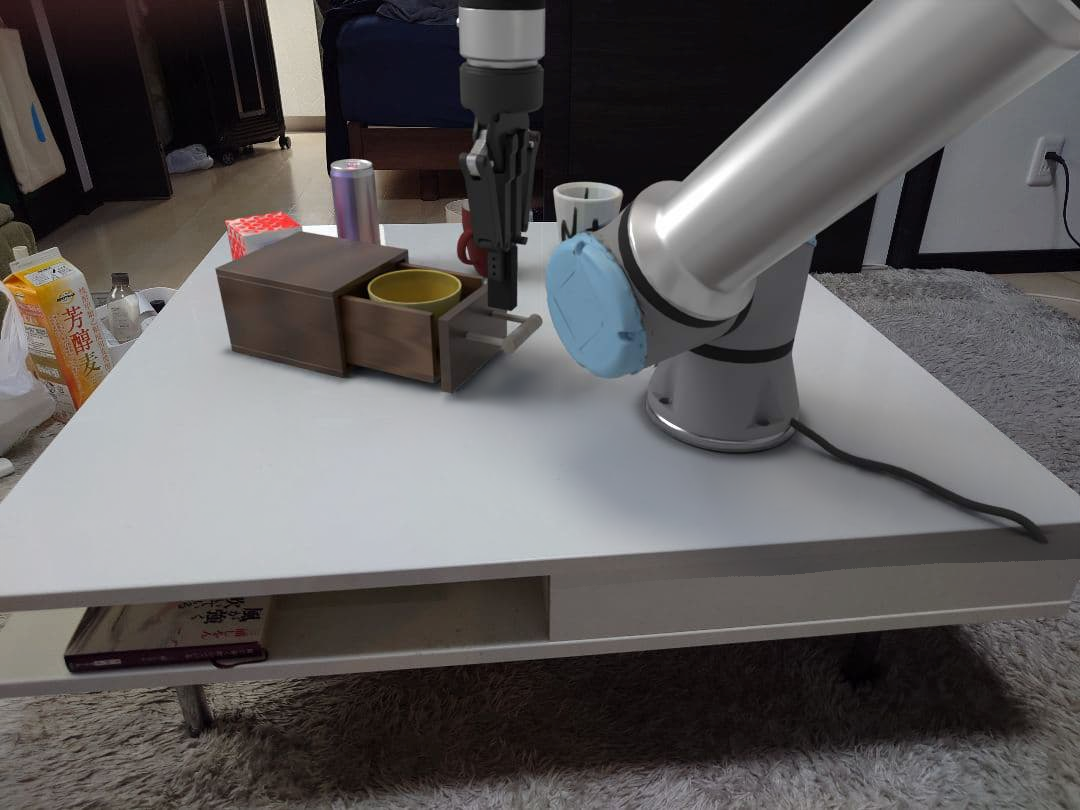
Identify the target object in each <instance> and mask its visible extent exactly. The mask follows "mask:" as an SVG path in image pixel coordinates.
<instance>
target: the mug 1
mask: <svg viewBox="0 0 1080 810" xmlns="http://www.w3.org/2000/svg"><path fill="white" fill-rule="evenodd" d="M461 225H462V231H463V232H462V233H460V235H459V237H458V240H457V244H456V255H457V259H458V260H459V261H460V263H462V264H464V265H467V266H472V267H473V269H474V270H475V271H476V273H477V274H478V276H483V277H484V279H487V249H484V248H479V247H476V246H475V243H474V236H473V230H472V223H471V216H470V210H469V203H468V200H466V201H464V202H463V203H462V204H461ZM467 254H468V255H467ZM468 258H469V259H468Z"/></svg>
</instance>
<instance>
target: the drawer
mask: <svg viewBox="0 0 1080 810" xmlns="http://www.w3.org/2000/svg"><path fill="white" fill-rule="evenodd" d="M414 269H416V270H433V271H439V272H444V273H447V274H450V275H452V276H454V277H456V278H457V279H459V281H460V282H461V295H460V300H459V304H457V305H456V306H455V307H453V308H452V309H451V310H449V311H448V312H447V313H445V314H444V315H442V316H441V317H440V318H438V328H439V346H440V347H439V348H437V349H436V343H435V326H434V313H432V312H427V311H422V310H417V309H412V308H407V307H402V306H397V305H392V304H387V303H382V302H377V301H372V300H370V296H369V292H368V285H369V283H370V282H371V281H372V280H373V279H375V278H377V277H379V276H381V275H384V274H387V273H391V272H395V271H401V270H414ZM338 302H339V310H340V318H341V326H342V334H343V342H344V350H345V358H346V363H350V364H354V365H359V367H363V368H368V369H372V370H376V371H381V372H385V373H389V374H393V375H397V376H401V377H405V378H409V379H414V380H418V381H423V382H427V383H431V384H435V383H436V382H438V381H439V380H441V381H440V383H441V392H443V393H447V394H451V395H452V394H453V393H455V391H457V390H458V389H459V388H460V387H461V386H462V385H463V384H465V382H466V381H468V380H469V379H470V378H471V377H472V376H473V375H474V374H475V373H476V372H477V371H478V370H480V368H482V367H483V366H484V365H485V364H486V363H487V362H488V361H489V360H491V358H493V357H494V356H495V355H496V354H497V353H498V352H499V351H500V350H501V349H502V350H503V351H504V352H505V353H507V354H513V353H514V352H515V351H517V349H519V348H520V347H521V346H522V345H523V344H524V343H525V342H526V341H527V340H528V339H529V338H530V337H531V336H533V334H535V332H537V330H539V329H540V328H541V327H542V326H543V323H544V322H543V317H541V315H539V314H538V313H532V314H530V315H529V317H528V316H523V315H522V316H521V315H517V314H512V313H508V310H503V309H497V308H492V307H488V282H487V281H486V283H485V277H483V276H480V275H479V274H478V275H477V274H471V273H466V272H461V271H456V270H455V271H454V270H449V269H444V268H438V267H433V266H426V265H421V264H416V263H410V262H409V263H405V262H400V261H399V262H397V263H395V264H393V265H392V266H390V267H388V268H387V269H385V270H383V271H381V272H380V273H378V274H376V275H374V276H373V277H371V278H369V279H367V280H366V281H364V282H362V283H360V284H359V285H357V286H355V287H353V288H352V289H350V290H348V291H346V292H345V293H343V294H341V295H340V296H338ZM508 322H513V323H519V325H518V326H517V327H516V328H515V329H513V331H512V332H511V333H509V334H508Z"/></svg>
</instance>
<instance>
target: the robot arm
mask: <svg viewBox="0 0 1080 810" xmlns="http://www.w3.org/2000/svg"><path fill="white" fill-rule="evenodd" d="M457 2H458V18H457V19H456V27H457V28H458V35H459V36H458V37H459V54H460V56H462V58H464V59H466V61H465V62H463V63H462V64H461V66H459V89H460V91H459V92H460V94H459V95H460V103H461V106H462V107H463V108H464V109H466V110H467V111H471V112H472V113H473V114H474V122H473V129H472V142H473V146H472V148H471V150H470V152H460V154H459V156H458V164H459V167H460V170H461V172H462V174H463V177H464V182H465V189H466V196H467V201H468V203H469V210H470V216H471V223H472V230H473V236H474V243H475V246H476V247H479V248H484V249H487V278H486V279H487V281H486V283H487V282H488V307H492V308H497V309H503V310H507V312H513V310H514V309H516V308H517V307H518V274H519V273H518V271H519V269H518V266H519V265H518V259H519V257H518V256H519V255H518V254H519V251H518V250H519V247H518V245H523V246H526V245H527V243H528V241H529V240H528V239H529V237H528V236H522V233H527V232H528V230H529V223H530V215H531V214H530V213H531V204H532V197H533V196H532V195H533V186H534V177H535V168H536V161H537V160H536V158H537V154H538V150H539V147H540V141H541V133H540V131H536V130H535V131H534V130H530V129H529V128H530V118H529V113H533V112H536V111H538V110H539V109H541V107H542V106H543V104H544V78H545V77H544V76H545V74H544V73H545V72H544V71H545V69H544V68H543V67H542V65H541V64H540V63H539V60H541V59H542V58H544V56H545V55H546V0H458V1H457ZM1078 54H1080V0H871V2H870V3H869V4H867V6H866V7H865V8H863V10H861V11H860V12H859V13H858V14H857V15H856V16H855V17H854V18H853V19H852V20H851V21H850V22H849V23H848V24H846V25H845V26H844V28H842V30H840V31H839V32H838V33H837V34H836V35H835V36H834V37H832V39H831V40H830V41H829V42H828V43H826V45H825V46H824V47H823V48H821V49H820V50H819V52H817V53H816V54H815V55H814V56H813V57H812V58H811V59H810V60H809V61H808V62H807V63H805V65H804V66H802V67H801V68H800V69H799V70H798V71H797V72H796V73H794V75H793V76H792V77H790V79H789V80H787V81H786V82H785V83H784V84H783V85H782V87H780V88H779V89H778V90H777V91H776V92H775V93H774V94H773V95H771V97H770V98H769V99H767V101H765V103H763V104H762V105H761V106H760V107H759V108H758V109H757V110H756V111H755V112H754V113H753V114H752V115H751V116H750V117H749V118H747V119H746V121H744V122H743V123H742V124H741V125H740V126H739V127H738V128H737V129H736V130H735V131H734V132H733V133H732V134H730V136H728V137H727V138H726V139H725V140H724V141H723V142H722V144H720V145H719V146H718V147H717V148H716V149H715V150H714V151H713V152H712V153H711V154H710V155H708V156H707V157H706V158H705V159H704V160H703V161H702V162H701V163H700V164H699V165H698V166H696V168H695V169H694V170H693V171H692V172H690V173H689V175H688V176H686V177H685V178H684V179H683V180H682V181H679V180H678V181H677V180H662V181H658V182H655V183H652V184H651V185H648V187H646V188H645V189H643V190H642V191H641V192H640V193H639V194H638V195H637V196H636V197H635V198H633V199H632V201H630V203H628V204H627V205H626V207H625V208H624V209H623V210H621V211H620V212H619V215H618V216H617V217H616V218H615V219H614V220H613V221H612V222H610V223H609V224H608V225H606V226H605V227H603V228H602V229H600V230H598V231H595V232H592V233H585V232H582V233H581V234H579V233H577V234H576V235H575V236H573V238H570V239H568V240H565V241H563V242H562V243H561V244H560V243H559V244H558V245H557V246H556V247H555V249H554V250H553V252H552V253H551V255H550V257H549V260H548V263H547V266H546V272H545V291H546V302H547V307H548V312H549V316H550V319H551V322H552V325H553V328H554V330H555V332H556V334H557V336H558V338H559V340H560V342H561V343H562V345H563V347H564V348H565V350H566V351H567V353H568V354H569V355H570V356H571V358H572V359H573V360H574V361H575V362H576V363H577V364H578V365H579V366H580V367H581V368H583V369H586V370H587V371H588V373H590V374H592V375H594V376H595V377H597V378H601V379H609V380H610V379H617V378H621V377H625V376H628V375H631V376H634V375H637V374H639V373H640V372H642V371H643V370H644V369H647V368H649V367H653V369H654V371H653V374H652V376H651V378H650V380H649V383H648V386H647V390H646V397H645V410H646V414H647V416H648V417H649V420H651V421H652V423H653V424H654V425H655V426H656V427H657V428H658V429H660V430H661V431H662V432H664V433H665V434H667V435H669V436H670V437H672V438H674V439H676V440H679V441H680V442H683V443H685V444H689V445H691V446H695V447H698V448H702V449H707V450H712V451H717V452H726V453H746V452H747V453H749V452H758V451H763V450H767V449H771V448H774V447H777V446H778V445H780V444H783V443H784V442H786V441H787V440H789V439H790V438H791V437H792V436H793V434H794V433H795V432H796V431H797V432H799V433H800V434H802V435H804V436H805V437H806V438H808V439H809V440H811V441H812V442H814V443H815V444H817V445H818V446H819V447H820V448H821V449H823V450H824V451H825V452H827V453H829V454H830V455H832V456H833V457H835V458H837V459H839V460H841V461H843V462H846V463H849V464H852V465H855V466H858V467H862V468H866V469H871V470H875V471H879V472H884V473H887V474H890V475H894V476H897V477H900V478H902V479H905V480H907V481H909V482H912V483H914V484H916V485H918V486H920V487H921V488H924V489H926V490H928V491H929V492H931V493H933V494H935V495H937V496H939V497H942V498H943V499H945V500H947V501H949V502H951V503H953V504H955V505H958V506H960V507H962V508H965V509H967V510H971V511H973V512H978V513H982V514H986V515H991V516H996V517H1000V518H1003V519H1005V520H1006V519H1007V520H1010V521H1012V522H1014V523H1017V525H1019V526H1021V527H1022V528H1024V529H1025V530H1026V531H1028V533H1029V534H1030V535H1031V536H1032V537H1033V539H1034V540H1035V541H1036V542H1038V543H1039V544H1043V545H1048V544H1049V541H1048V539H1047V537H1046V535H1045V534H1044V533H1043V531H1042V530H1041V529H1040V527H1039V526H1038V525H1036V523H1035V522H1034V521H1033V520H1031V519H1030V518H1028V517H1027V516H1025V515H1023V514H1022V513H1019V512H1017V511H1015V510H1012V509H1008V508H1006V507H1001V506H996V505H993V504H987V503H983V502H980V501H976V500H973V499H969V498H967V497H965V496H962V495H960V494H957V493H956V492H953V491H951V490H949V489H947V488H945V487H943V486H941V485H940V484H937V483H936V482H933V481H932V480H929V479H928V478H926V477H923V476H921V475H920V474H918V473H915V472H914V471H913V472H912V471H910V470H908V469H905V468H903V467H899V466H896V465H893V464H890V463H886V462H882V461H877V460H872V459H868V458H865V457H860V456H857V455H854V454H851V453H849V452H846V451H844V450H842V449H840V448H838V447H837V446H835V445H834V444H832V443H830V442H829V441H828V440H827V439H825V438H824V437H823V436H822V435H820V434H819V433H817V432H816V431H815V430H813V429H811V428H810V427H808V426H807V425H805V424H803V423H802V422H800V421H799V417H800V399H799V393H798V385H797V378H796V371H795V367H794V366H795V365H794V360H793V349H794V345H795V344H794V343H795V340H796V339H795V338H796V334H797V330H798V326H799V320H800V315H801V311H802V306H803V301H804V296H805V292H806V287H807V283H808V278H809V273H810V269H811V264H812V259H813V255H814V251H815V250H814V249H815V248H816V247H817V242H818V241H817V239H816V237H817V236H816V235H818V234H820V233H821V232H823V231H824V230H825V229H827V228H828V227H829V226H831V225H832V224H834V223H835V222H837V221H838V220H840V219H841V218H843V217H844V216H846V215H847V214H848V213H850V212H851V211H853V210H854V209H856V208H857V207H858V206H860V205H862V204H863V203H865V202H866V201H867V200H869V199H870V198H872V197H873V196H874V195H876V194H877V193H879V192H880V191H882V190H883V189H885V188H886V187H887V186H889V185H890V184H892V183H893V182H894V181H896V180H898V179H899V178H900V177H902V176H903V175H905V174H906V173H908V172H910V171H911V170H912V169H914V168H915V167H916V166H918V165H919V164H921V163H922V162H924V161H925V160H927V159H928V158H930V157H931V156H933V154H935V153H937V152H938V151H940V150H941V149H942V148H943V147H945V146H947V145H948V144H950V143H952V141H954V140H956V139H957V138H958V137H960V136H961V135H963V134H964V133H965V132H967V131H969V130H970V129H972V128H974V126H976V125H977V124H979V123H980V122H981V121H983V120H985V119H986V118H987V117H988V116H990V115H992V114H993V113H995V112H996V111H998V110H999V109H1000V108H1002V107H1003V106H1004V105H1006V104H1008V103H1009V102H1011V101H1012V100H1014V99H1015V98H1016V97H1018V96H1019V95H1020V94H1022V93H1024V92H1025V91H1026V90H1028V89H1029V88H1030V87H1032V86H1033V85H1035V84H1037V83H1038V82H1039V81H1041V80H1042V79H1044V78H1045V77H1047V76H1048V75H1049V74H1051V73H1053V72H1054V71H1056V70H1057V69H1058V68H1060V67H1061V66H1062V65H1064V64H1065V63H1067V62H1068V61H1070V60H1071V59H1072V58H1074V57H1076V56H1077V55H1078Z"/></svg>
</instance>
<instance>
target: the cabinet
mask: <svg viewBox="0 0 1080 810" xmlns="http://www.w3.org/2000/svg"><path fill="white" fill-rule="evenodd" d="M399 261H400V262H405V263H410V257H409V249H407V248H401V247H395V246H389V245H385V244H384V245H383V244H381V245H378V244H372V243H367V242H361V241H355V240H349V239H343V238H338V236H331V235H325V234H320V233H314V232H309V231H300V232H298V233H295V234H293V235H291V236H288V237H286V238H284V239H281V240H279V241H277V242H275V243H272V244H270V245H268V246H265V247H263V248H261V249H259V250H256V251H254V252H252V253H249V254H247V255H245V256H242V257H240V258H238V259H236V260H233V259H232V260H231V261H229V262H226V263H223V264H222V265H219V266H217V267H215V268H214V270H215V275H216V278H217V283H218V288H219V293H220V294H219V295H220V298H221V303H222V309H223V313H224V318H225V323H226V327H227V333H228V337H229V342H230V347H231V350H232V352H236V353H240V354H244V355H248V356H252V357H257V358H259V359H265V360H269V361H273V362H275V363H276V362H277V363H280V364H285V365H290V366H293V367H297V368H302V369H305V370H309V371H313V372H318V373H322V374H325V375H329V376H333V377H337V378H343V379H344V378H346V377H347V376H348V375H351V374H352V373H353V371H355V370H356V369H358V368H360V366H359V365H354V364H350V363H346V358H345V350H344V342H343V334H342V326H341V318H340V310H339V302H338V296H340V295H341V294H343V293H345V292H346V291H348V290H350V289H352V288H353V287H355V286H357V285H359V284H360V283H362V282H364V281H366V280H367V279H369V278H371V277H373V276H374V275H376V274H378V273H380V272H381V271H383V270H385V269H387V268H388V267H390V266H392V265H393V264H395V263H397V262H399Z"/></svg>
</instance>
